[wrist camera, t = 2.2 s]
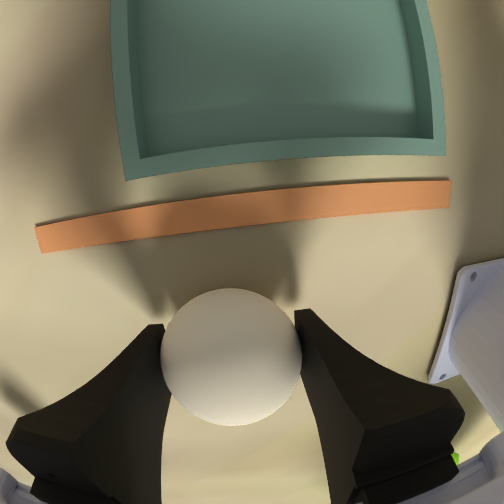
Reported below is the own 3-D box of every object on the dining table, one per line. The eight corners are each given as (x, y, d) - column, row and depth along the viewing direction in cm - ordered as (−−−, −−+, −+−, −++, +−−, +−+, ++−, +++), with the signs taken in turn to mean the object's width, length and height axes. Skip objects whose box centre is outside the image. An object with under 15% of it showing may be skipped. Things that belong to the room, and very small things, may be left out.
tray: (384, -68, 6) (396, -81, 5) (425, 152, 10) (445, 156, 9) (126, -64, 6) (117, -79, 5) (138, 174, 10) (125, 180, 9)
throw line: (449, 180, 11) (451, 180, 11) (448, 206, 11) (449, 207, 11) (35, 227, 11) (34, 227, 11) (42, 252, 11) (41, 253, 11)
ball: (287, 257, 12) (318, 338, 7) (291, 354, 14) (312, 442, 9) (160, 272, 12) (123, 354, 7) (186, 364, 14) (173, 452, 9)
